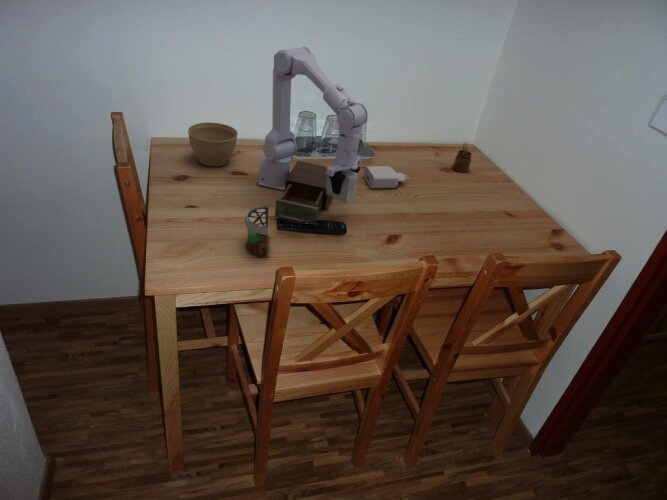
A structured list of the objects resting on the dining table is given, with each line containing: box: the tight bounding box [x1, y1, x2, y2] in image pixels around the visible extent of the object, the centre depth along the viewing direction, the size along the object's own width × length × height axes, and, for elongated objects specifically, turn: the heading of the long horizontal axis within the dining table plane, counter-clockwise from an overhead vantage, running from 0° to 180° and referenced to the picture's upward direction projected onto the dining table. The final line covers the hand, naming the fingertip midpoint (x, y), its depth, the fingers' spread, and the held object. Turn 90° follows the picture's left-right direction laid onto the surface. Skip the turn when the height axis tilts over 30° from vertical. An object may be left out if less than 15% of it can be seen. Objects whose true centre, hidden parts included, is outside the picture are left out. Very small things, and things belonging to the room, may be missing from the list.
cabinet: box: [284, 160, 332, 211], centre depth 163 cm, size 15×14×8 cm
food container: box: [244, 204, 270, 258], centre depth 135 cm, size 12×6×10 cm, turn 5°
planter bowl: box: [187, 122, 238, 167], centre depth 173 cm, size 16×16×11 cm
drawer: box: [274, 183, 325, 225], centre depth 151 cm, size 19×12×6 cm, turn 168°
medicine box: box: [326, 170, 359, 205], centre depth 148 cm, size 8×4×9 cm, turn 52°
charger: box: [363, 165, 410, 189], centre depth 178 cm, size 5×9×15 cm
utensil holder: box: [452, 141, 472, 173], centre depth 194 cm, size 6×6×12 cm
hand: (340, 190), depth 150 cm, fingers closed on medicine box, 4 cm apart
